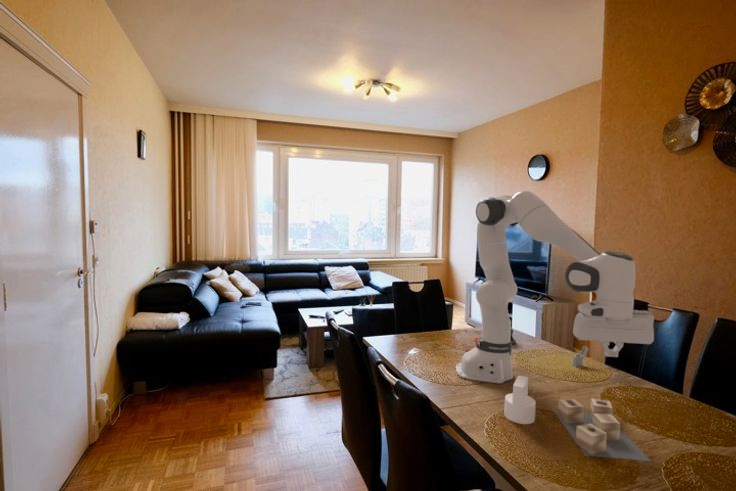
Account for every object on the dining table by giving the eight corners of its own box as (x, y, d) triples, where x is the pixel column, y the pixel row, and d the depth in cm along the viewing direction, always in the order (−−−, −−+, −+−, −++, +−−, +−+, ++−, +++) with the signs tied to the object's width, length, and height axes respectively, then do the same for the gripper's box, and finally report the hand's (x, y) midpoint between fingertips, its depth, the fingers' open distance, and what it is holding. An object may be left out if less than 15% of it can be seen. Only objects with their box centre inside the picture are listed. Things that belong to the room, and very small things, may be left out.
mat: (585, 457, 99) (585, 455, 99) (552, 411, 123) (552, 409, 122) (651, 463, 97) (651, 461, 97) (605, 415, 120) (605, 413, 120)
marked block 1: (567, 423, 114) (568, 406, 114) (558, 414, 119) (558, 398, 119) (583, 422, 115) (584, 406, 114) (573, 414, 120) (574, 398, 119)
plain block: (600, 439, 106) (601, 422, 106) (592, 429, 111) (593, 413, 111) (619, 440, 105) (620, 423, 105) (610, 430, 110) (611, 414, 110)
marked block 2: (592, 420, 116) (593, 404, 116) (590, 413, 121) (591, 397, 120) (611, 424, 114) (612, 407, 114) (608, 416, 119) (609, 400, 118)
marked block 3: (591, 454, 99) (592, 435, 99) (575, 443, 104) (576, 425, 104) (605, 451, 101) (606, 432, 100) (589, 440, 105) (590, 422, 105)
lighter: (575, 366, 161) (576, 348, 160) (572, 365, 162) (573, 347, 162) (588, 364, 163) (589, 346, 162) (584, 363, 165) (585, 345, 164)
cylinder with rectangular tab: (532, 429, 112) (534, 390, 111) (501, 420, 117) (502, 382, 116) (536, 416, 120) (538, 379, 119) (507, 408, 124) (508, 373, 123)
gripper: (647, 308, 109) (644, 354, 110) (572, 304, 112) (569, 350, 113) (661, 313, 102) (657, 363, 103) (581, 309, 105) (578, 357, 106)
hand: (611, 356), depth 108 cm, fingers closed
